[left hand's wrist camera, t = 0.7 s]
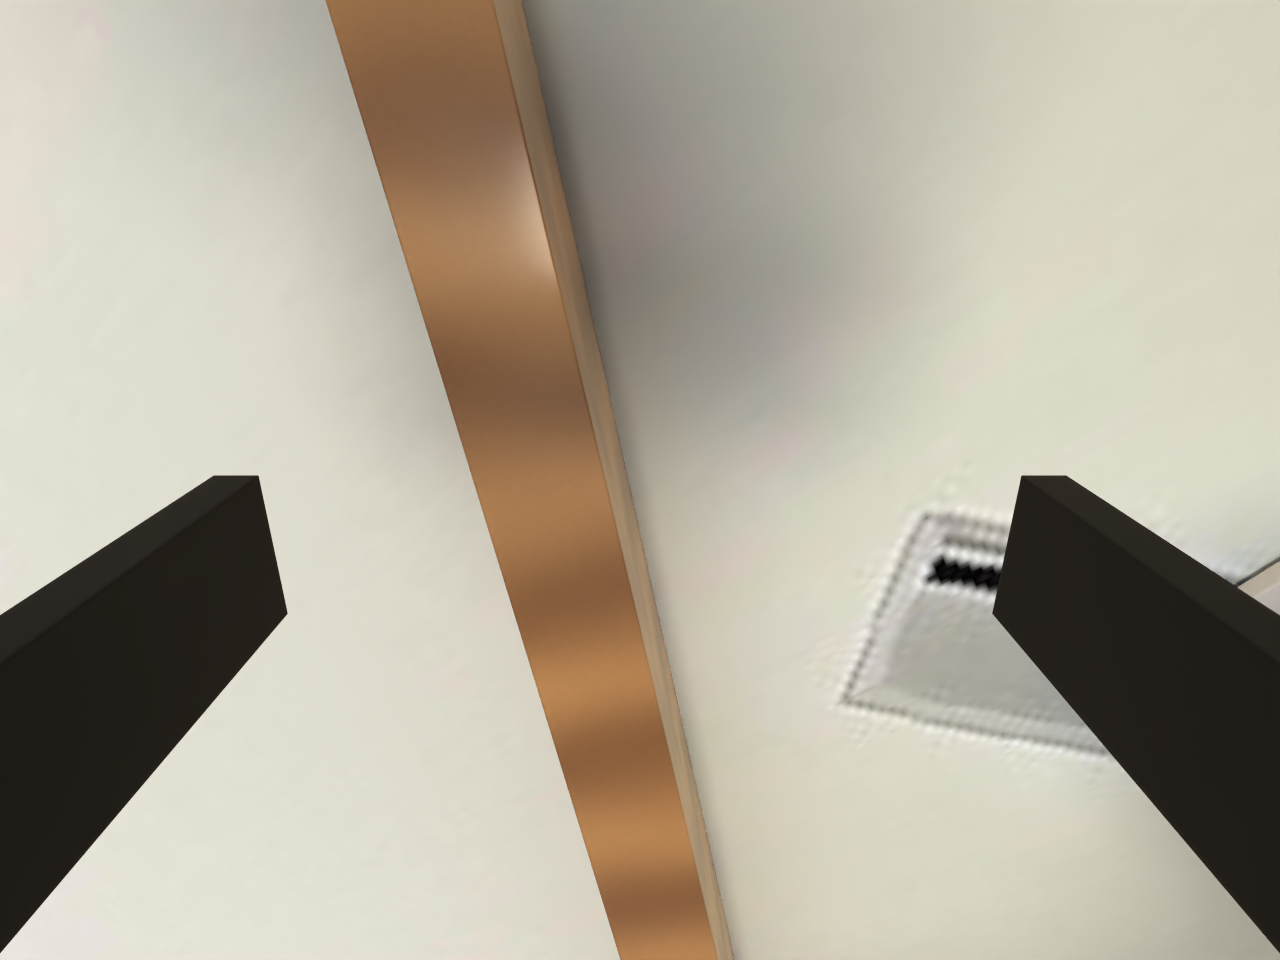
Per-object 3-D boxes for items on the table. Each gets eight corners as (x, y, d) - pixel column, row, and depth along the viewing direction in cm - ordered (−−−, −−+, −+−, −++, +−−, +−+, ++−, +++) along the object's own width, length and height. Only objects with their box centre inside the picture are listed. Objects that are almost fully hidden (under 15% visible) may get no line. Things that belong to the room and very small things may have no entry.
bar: (393, -16, 27) (292, -105, 19) (511, -45, 26) (458, -147, 19) (718, 1161, 54) (731, 1322, 47) (778, 1154, 54) (801, 1315, 46)
